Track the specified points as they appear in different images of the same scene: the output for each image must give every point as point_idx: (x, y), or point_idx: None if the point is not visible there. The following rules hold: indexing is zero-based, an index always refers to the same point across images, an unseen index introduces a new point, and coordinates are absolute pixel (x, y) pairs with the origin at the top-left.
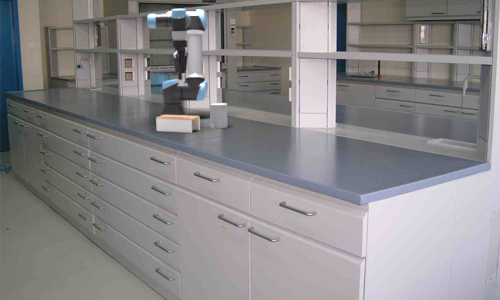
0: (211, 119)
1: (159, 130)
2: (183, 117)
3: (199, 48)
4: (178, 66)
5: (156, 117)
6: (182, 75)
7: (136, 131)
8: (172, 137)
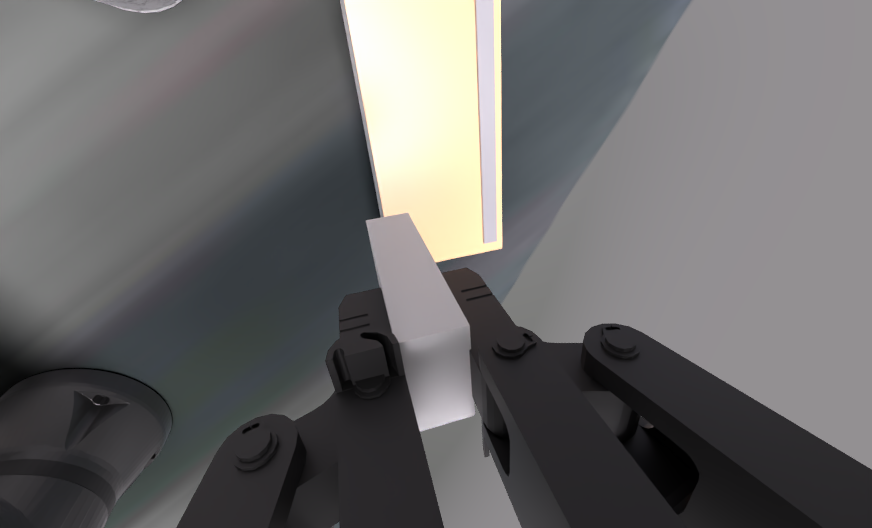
0: None
1: None
2: (491, 53)
3: None
4: (833, 461)
5: (501, 245)
6: (456, 303)
7: (509, 285)
8: (617, 15)
